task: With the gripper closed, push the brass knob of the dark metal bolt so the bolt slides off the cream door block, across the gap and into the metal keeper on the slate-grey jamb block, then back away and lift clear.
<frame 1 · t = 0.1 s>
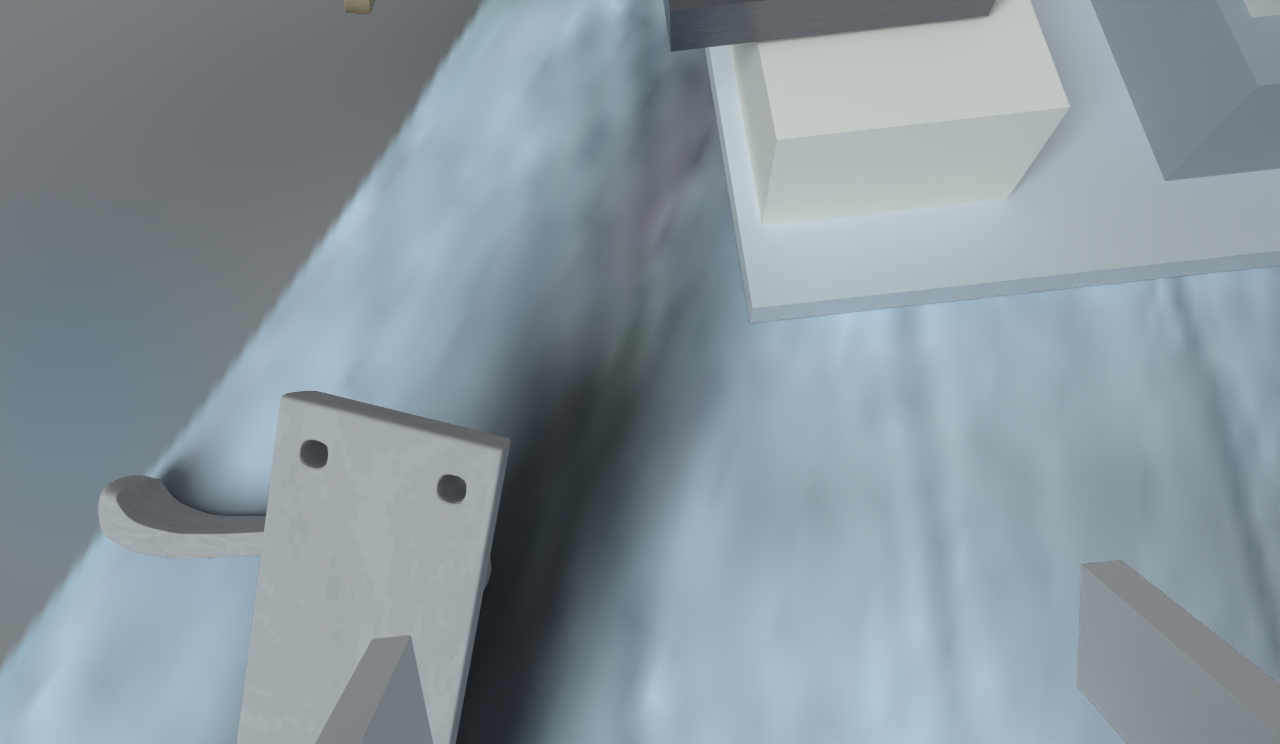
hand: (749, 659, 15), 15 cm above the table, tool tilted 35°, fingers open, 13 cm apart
lock frame: (1023, 106, 38), on the table
door handle: (293, 681, 31), on the table
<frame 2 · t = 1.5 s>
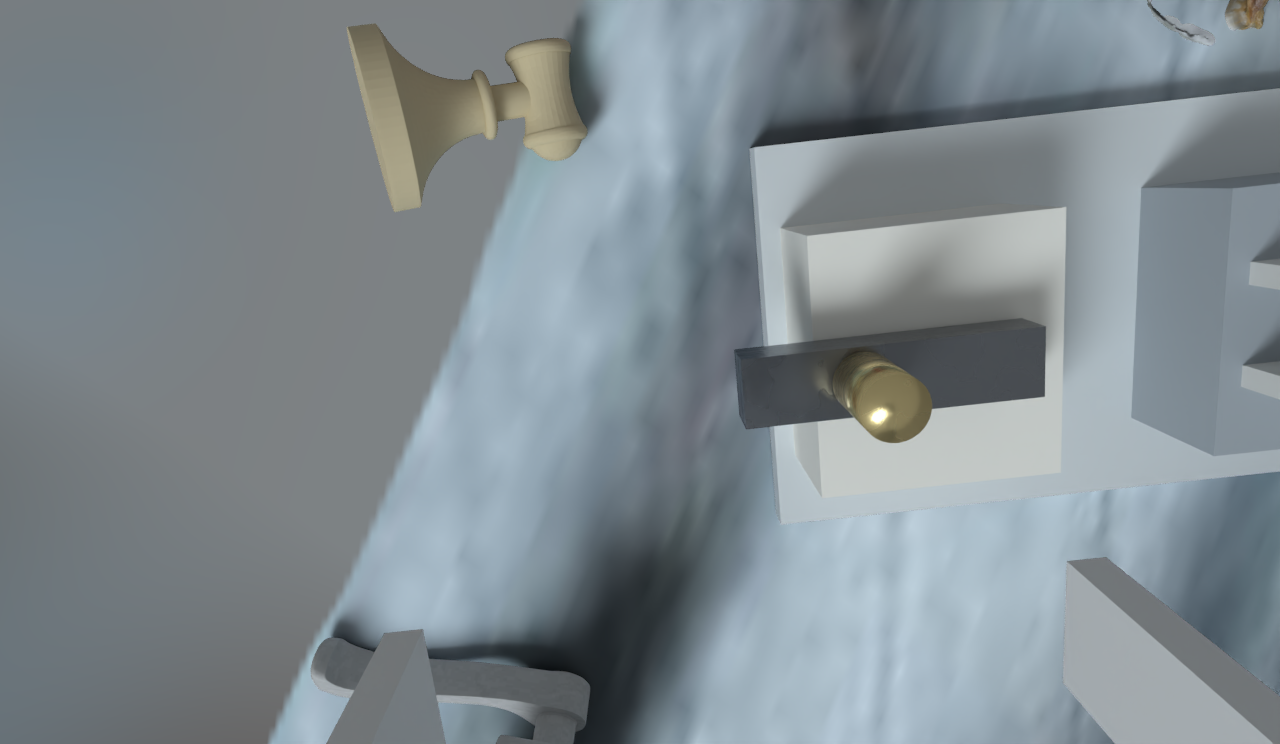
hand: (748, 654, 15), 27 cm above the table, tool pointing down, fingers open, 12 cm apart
door knob: (477, 114, 39), on the table
lock frame: (1043, 310, 41), on the table
bolt: (902, 384, 31), point 11 cm above the table, slide at 0.0 cm
door handle: (465, 738, 48), on the table
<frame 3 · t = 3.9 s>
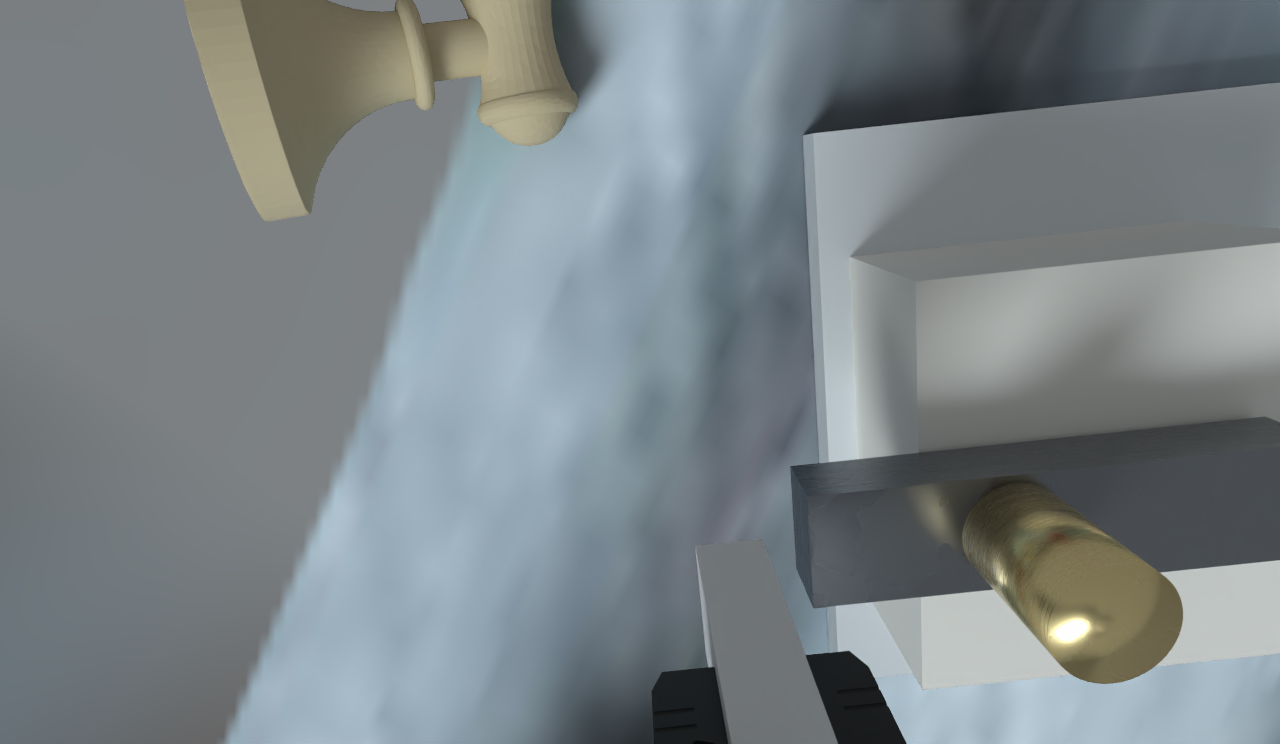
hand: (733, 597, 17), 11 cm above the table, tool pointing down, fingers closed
door knob: (412, 71, 26), on the table
lock frame: (1228, 376, 28), on the table
bolt: (1090, 546, 18), point 11 cm above the table, slide at 0.0 cm
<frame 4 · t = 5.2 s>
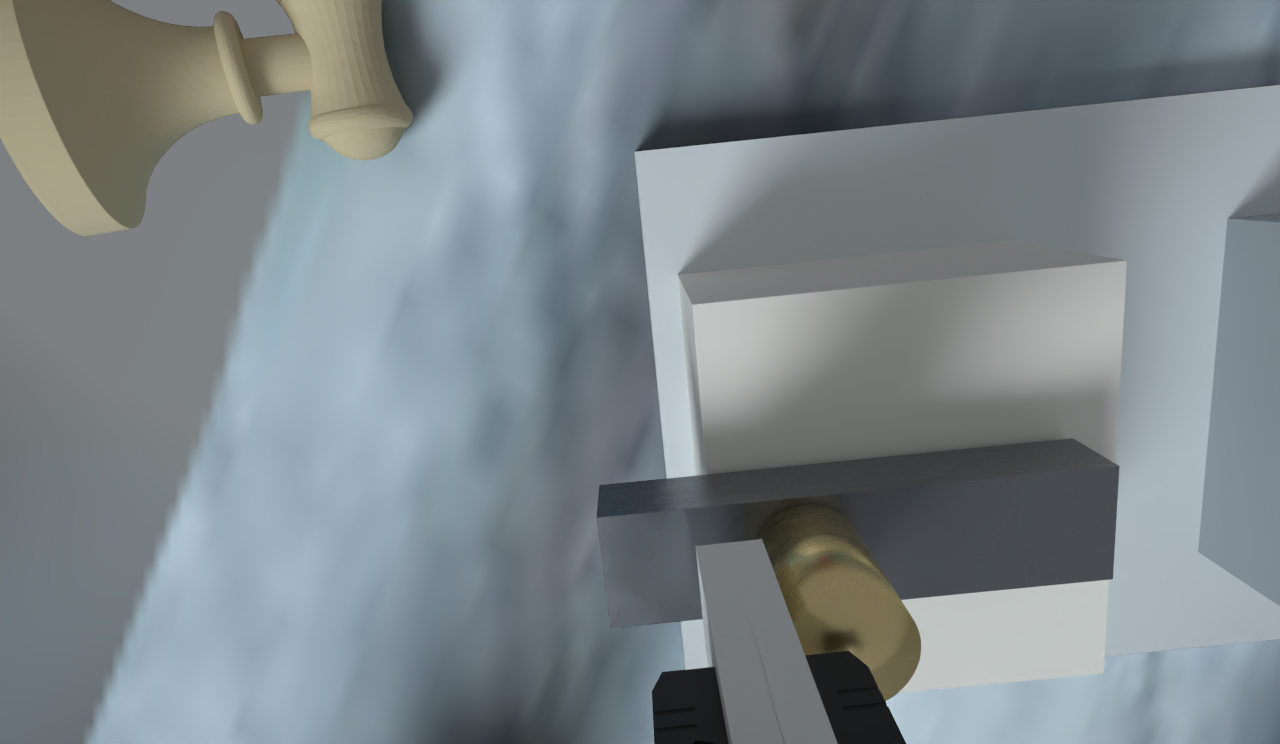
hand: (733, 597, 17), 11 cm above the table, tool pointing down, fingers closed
door knob: (254, 84, 26), on the table
lock frame: (1071, 394, 28), on the table
bolt: (871, 569, 18), point 11 cm above the table, slide at 0.7 cm, touching gripper
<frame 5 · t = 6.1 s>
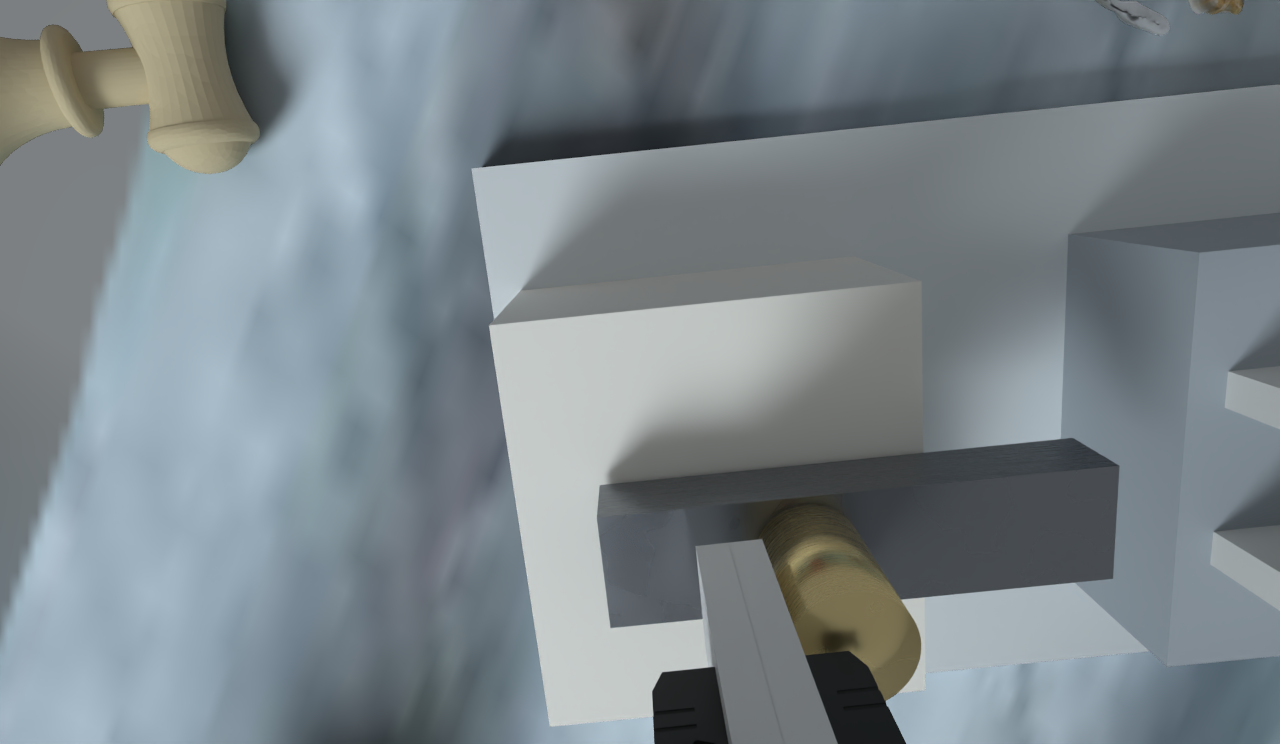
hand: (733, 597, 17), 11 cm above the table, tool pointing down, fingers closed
door knob: (106, 95, 26), on the table
lock frame: (929, 408, 28), on the table
bolt: (871, 569, 18), point 11 cm above the table, slide at 5.8 cm, touching gripper
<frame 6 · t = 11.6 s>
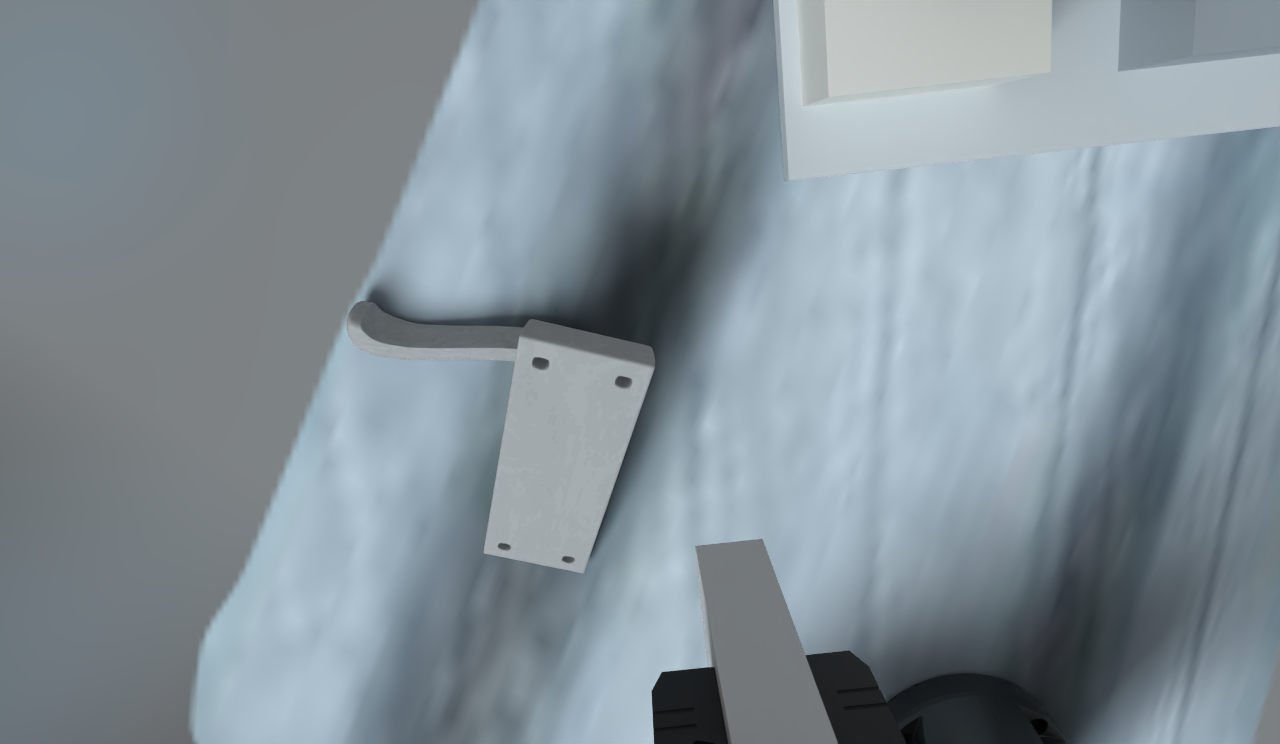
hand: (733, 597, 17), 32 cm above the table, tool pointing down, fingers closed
door handle: (489, 417, 51), on the table
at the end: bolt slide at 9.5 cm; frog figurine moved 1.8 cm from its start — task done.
